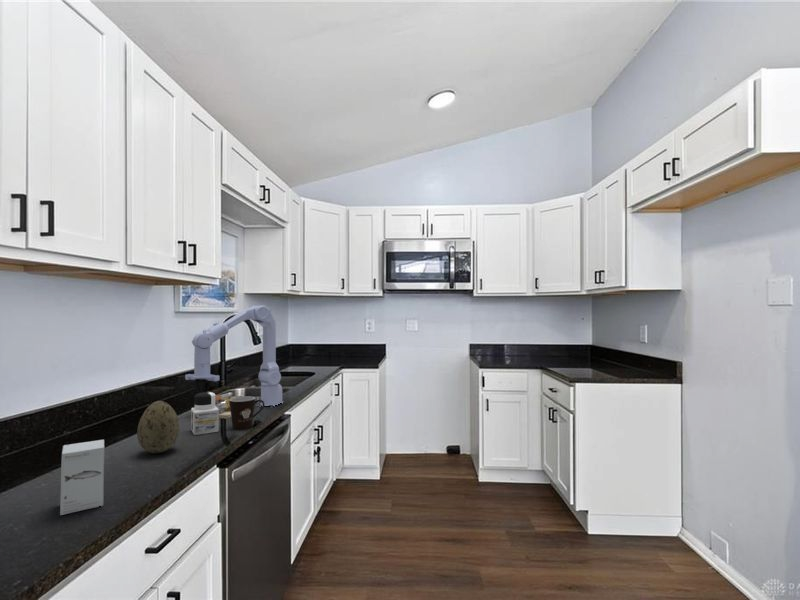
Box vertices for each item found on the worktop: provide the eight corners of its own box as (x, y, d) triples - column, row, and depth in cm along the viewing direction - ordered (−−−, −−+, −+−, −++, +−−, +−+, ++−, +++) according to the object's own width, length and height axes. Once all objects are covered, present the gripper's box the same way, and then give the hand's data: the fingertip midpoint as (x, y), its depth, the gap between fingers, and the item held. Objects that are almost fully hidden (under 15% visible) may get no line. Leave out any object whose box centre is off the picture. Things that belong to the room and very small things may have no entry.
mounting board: (226, 407, 180) (226, 404, 180) (252, 409, 176) (252, 406, 176) (198, 416, 164) (198, 413, 164) (226, 418, 161) (226, 415, 161)
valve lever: (229, 395, 172) (229, 391, 172) (233, 395, 171) (233, 392, 171) (207, 401, 160) (207, 398, 160) (211, 401, 159) (211, 398, 159)
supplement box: (59, 517, 85) (60, 453, 85) (61, 503, 91) (62, 444, 91) (104, 506, 89) (104, 446, 89) (103, 494, 95) (104, 438, 95)
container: (194, 435, 139) (194, 396, 140) (190, 430, 146) (191, 392, 146) (219, 431, 144) (219, 393, 144) (214, 426, 150) (215, 390, 150)
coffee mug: (227, 431, 144) (227, 402, 144) (230, 425, 152) (230, 397, 152) (263, 428, 147) (263, 400, 147) (264, 422, 155) (264, 395, 155)
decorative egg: (138, 461, 115) (139, 406, 116) (135, 451, 124) (135, 400, 124) (182, 453, 122) (182, 401, 122) (176, 444, 130) (176, 395, 131)
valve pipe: (236, 405, 178) (236, 392, 178) (245, 406, 177) (245, 393, 177) (211, 414, 163) (211, 400, 164) (220, 414, 162) (220, 400, 162)
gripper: (179, 364, 163) (179, 399, 162) (210, 365, 159) (210, 401, 158) (193, 362, 169) (192, 396, 169) (223, 363, 165) (223, 398, 165)
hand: (202, 398), depth 164 cm, fingers closed
